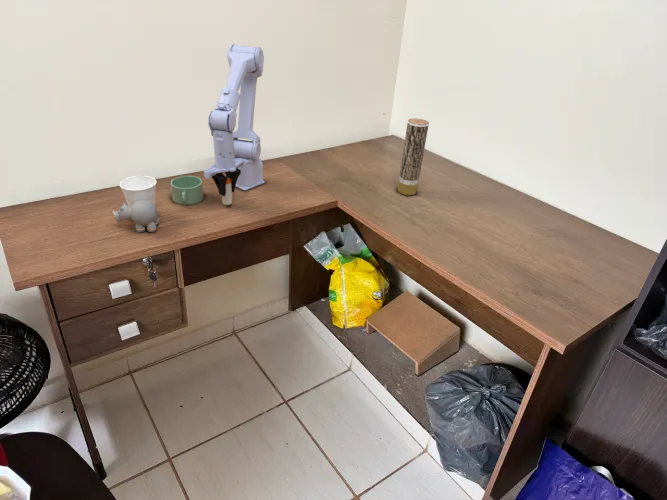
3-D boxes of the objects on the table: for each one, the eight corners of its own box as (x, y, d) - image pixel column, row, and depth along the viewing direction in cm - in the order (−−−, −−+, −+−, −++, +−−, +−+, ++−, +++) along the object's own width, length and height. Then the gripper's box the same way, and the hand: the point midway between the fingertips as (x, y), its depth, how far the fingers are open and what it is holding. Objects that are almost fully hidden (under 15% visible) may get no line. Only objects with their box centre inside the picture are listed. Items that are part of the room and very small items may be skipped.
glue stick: (227, 199, 152) (226, 176, 148) (234, 202, 150) (233, 179, 146) (220, 202, 150) (218, 179, 146) (226, 205, 148) (225, 182, 144)
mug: (175, 190, 157) (173, 175, 154) (205, 191, 158) (204, 175, 155) (168, 208, 147) (166, 192, 144) (201, 208, 148) (199, 192, 145)
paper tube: (416, 188, 171) (428, 119, 157) (416, 197, 165) (429, 126, 152) (397, 186, 171) (407, 117, 158) (397, 195, 165) (408, 124, 152)
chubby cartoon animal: (120, 220, 139) (115, 194, 134) (162, 222, 140) (159, 195, 135) (112, 233, 133) (106, 206, 128) (156, 234, 134) (152, 207, 129)
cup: (118, 219, 139) (111, 185, 133) (142, 206, 147) (136, 172, 141) (145, 228, 136) (139, 193, 130) (168, 213, 144) (164, 180, 138)
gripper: (213, 161, 134) (216, 204, 141) (251, 148, 144) (253, 189, 151) (197, 154, 137) (201, 197, 145) (235, 142, 147) (237, 182, 155)
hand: (226, 192), depth 148 cm, fingers closed on glue stick, 3 cm apart
